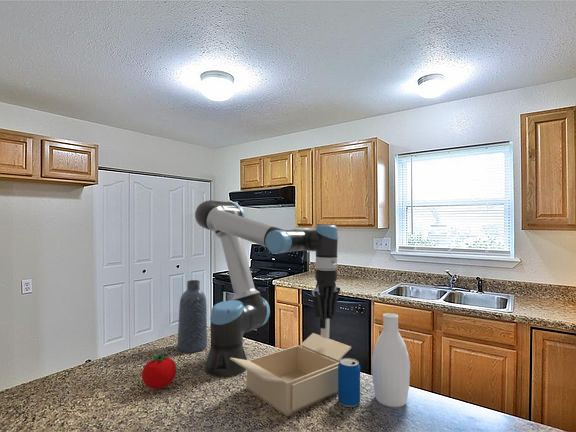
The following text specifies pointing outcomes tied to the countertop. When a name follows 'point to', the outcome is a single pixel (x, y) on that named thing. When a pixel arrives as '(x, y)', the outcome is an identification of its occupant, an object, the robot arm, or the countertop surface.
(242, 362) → the flap
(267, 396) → the carton
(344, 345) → the flap
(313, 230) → the robot arm
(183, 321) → the vase
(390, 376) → the bottle
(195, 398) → the countertop surface
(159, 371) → the tomato
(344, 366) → the beverage can
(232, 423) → the countertop surface
